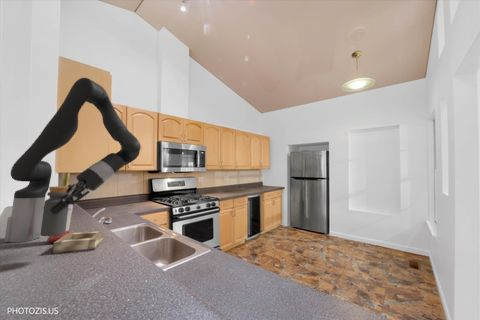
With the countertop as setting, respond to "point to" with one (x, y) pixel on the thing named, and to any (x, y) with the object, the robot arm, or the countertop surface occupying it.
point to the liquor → (70, 208)
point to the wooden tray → (78, 242)
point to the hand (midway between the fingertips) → (49, 211)
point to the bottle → (54, 222)
